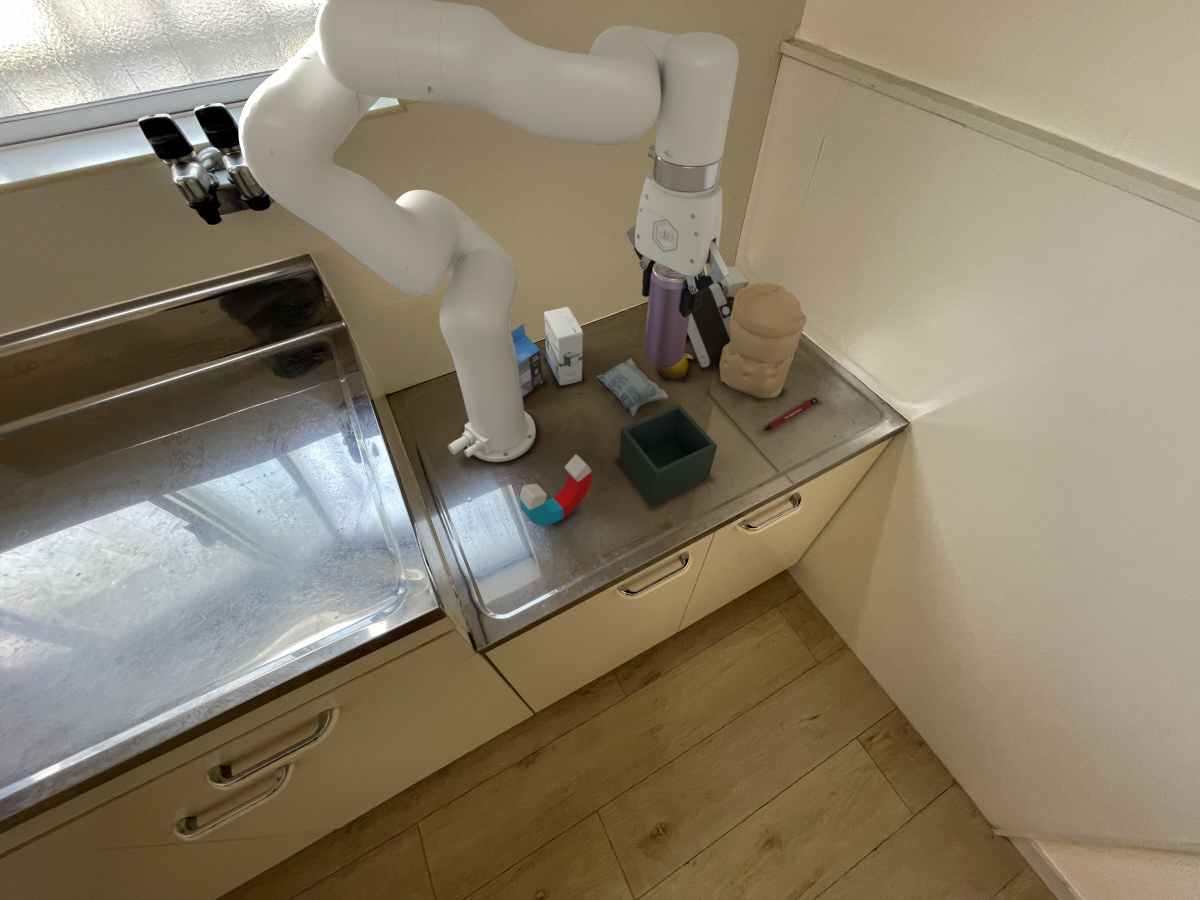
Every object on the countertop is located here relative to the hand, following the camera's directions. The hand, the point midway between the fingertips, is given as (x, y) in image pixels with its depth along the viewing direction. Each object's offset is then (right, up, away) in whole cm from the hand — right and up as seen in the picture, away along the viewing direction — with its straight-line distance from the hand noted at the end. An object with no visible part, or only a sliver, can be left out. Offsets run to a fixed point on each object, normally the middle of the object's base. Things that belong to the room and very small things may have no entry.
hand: (669, 301), depth 78 cm
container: (+19, -7, +32) cm, 38 cm away
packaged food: (-4, -10, +30) cm, 32 cm away
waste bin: (+1, -24, +19) cm, 30 cm away
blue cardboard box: (-25, -9, +31) cm, 40 cm away
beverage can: (0, -6, +8) cm, 10 cm away
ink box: (-17, -5, +34) cm, 38 cm away
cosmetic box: (+17, +6, +44) cm, 47 cm away
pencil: (+25, -15, +27) cm, 39 cm away
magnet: (-16, -31, +13) cm, 37 cm away
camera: (+7, +2, +35) cm, 35 cm away
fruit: (+5, -4, +36) cm, 36 cm away
